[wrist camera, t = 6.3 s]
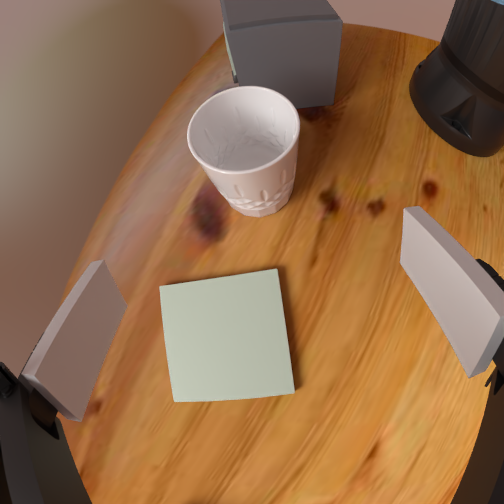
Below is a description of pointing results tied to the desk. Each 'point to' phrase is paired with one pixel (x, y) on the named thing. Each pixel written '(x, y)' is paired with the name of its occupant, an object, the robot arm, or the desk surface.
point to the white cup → (248, 147)
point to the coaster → (227, 338)
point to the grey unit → (285, 47)
